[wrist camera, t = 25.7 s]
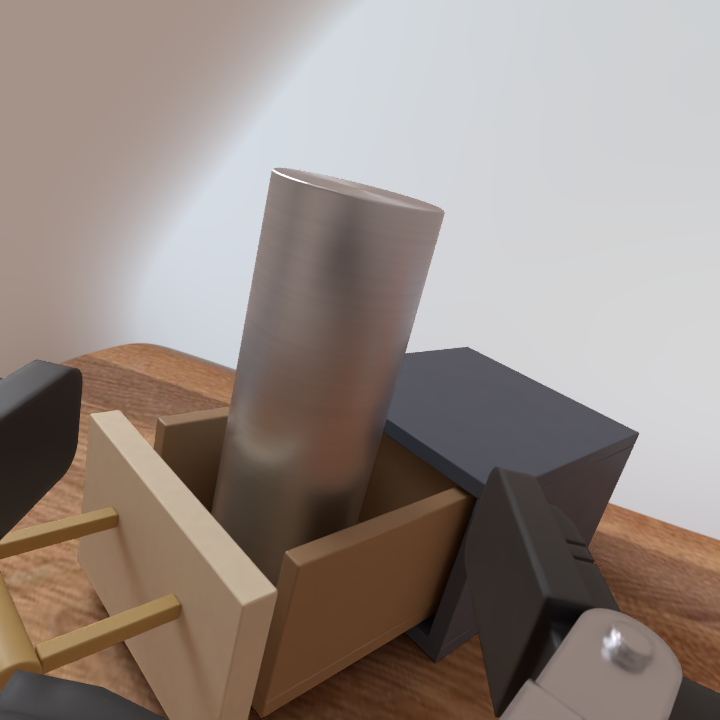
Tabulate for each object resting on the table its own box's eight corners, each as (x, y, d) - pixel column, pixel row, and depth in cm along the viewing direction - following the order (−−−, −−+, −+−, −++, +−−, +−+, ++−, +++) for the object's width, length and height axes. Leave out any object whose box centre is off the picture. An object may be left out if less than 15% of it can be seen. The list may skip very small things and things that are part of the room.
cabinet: (435, 663, 26) (498, 493, 23) (274, 505, 34) (306, 363, 31) (582, 560, 36) (640, 432, 33) (432, 457, 44) (467, 346, 41)
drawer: (7, 913, 15) (18, 704, 12) (-79, 606, 22) (-83, 436, 19) (460, 619, 28) (509, 491, 25) (313, 489, 35) (340, 379, 33)
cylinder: (174, 558, 26) (237, 158, 20) (285, 522, 30) (363, 182, 24) (248, 659, 22) (353, 199, 16) (363, 601, 26) (479, 219, 20)
